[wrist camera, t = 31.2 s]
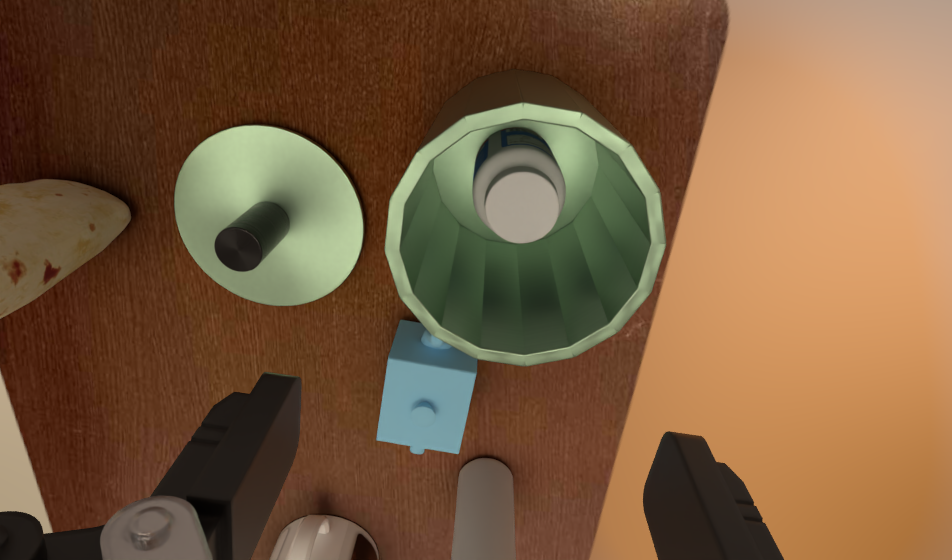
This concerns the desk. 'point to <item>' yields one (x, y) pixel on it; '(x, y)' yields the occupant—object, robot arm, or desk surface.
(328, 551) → the mug
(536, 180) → the pill bottle
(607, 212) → the pot
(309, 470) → the desk surface
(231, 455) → the robot arm
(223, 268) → the lid
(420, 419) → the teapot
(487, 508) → the beverage can
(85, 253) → the food model
